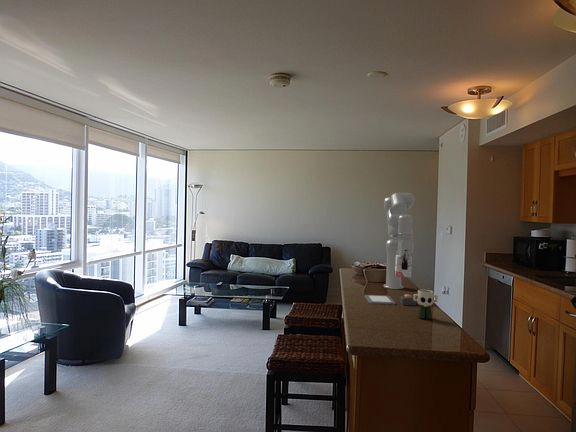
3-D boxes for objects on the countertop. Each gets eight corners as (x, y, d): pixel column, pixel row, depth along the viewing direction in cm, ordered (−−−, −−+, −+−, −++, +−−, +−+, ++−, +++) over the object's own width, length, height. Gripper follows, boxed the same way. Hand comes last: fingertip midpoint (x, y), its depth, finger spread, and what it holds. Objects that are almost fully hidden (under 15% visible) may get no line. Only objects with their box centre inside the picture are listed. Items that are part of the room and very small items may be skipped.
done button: (403, 297, 229) (403, 294, 229) (410, 298, 229) (410, 294, 229) (405, 299, 225) (405, 295, 225) (412, 299, 225) (412, 295, 225)
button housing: (399, 302, 231) (399, 295, 231) (412, 302, 231) (412, 296, 230) (402, 305, 224) (402, 298, 224) (415, 305, 224) (416, 299, 223)
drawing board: (364, 296, 243) (364, 294, 243) (389, 297, 242) (389, 295, 242) (369, 303, 225) (369, 301, 225) (395, 304, 224) (395, 302, 224)
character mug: (413, 319, 196) (414, 291, 195) (411, 315, 203) (412, 288, 202) (438, 321, 194) (439, 293, 193) (435, 317, 201) (436, 290, 200)
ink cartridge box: (396, 276, 237) (397, 250, 237) (394, 275, 242) (395, 249, 242) (411, 277, 237) (412, 251, 236) (409, 275, 241) (410, 250, 241)
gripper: (394, 235, 247) (393, 266, 248) (401, 238, 230) (400, 271, 231) (407, 235, 247) (406, 266, 248) (415, 238, 230) (413, 271, 231)
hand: (403, 268), depth 239 cm, fingers closed on ink cartridge box, 5 cm apart
